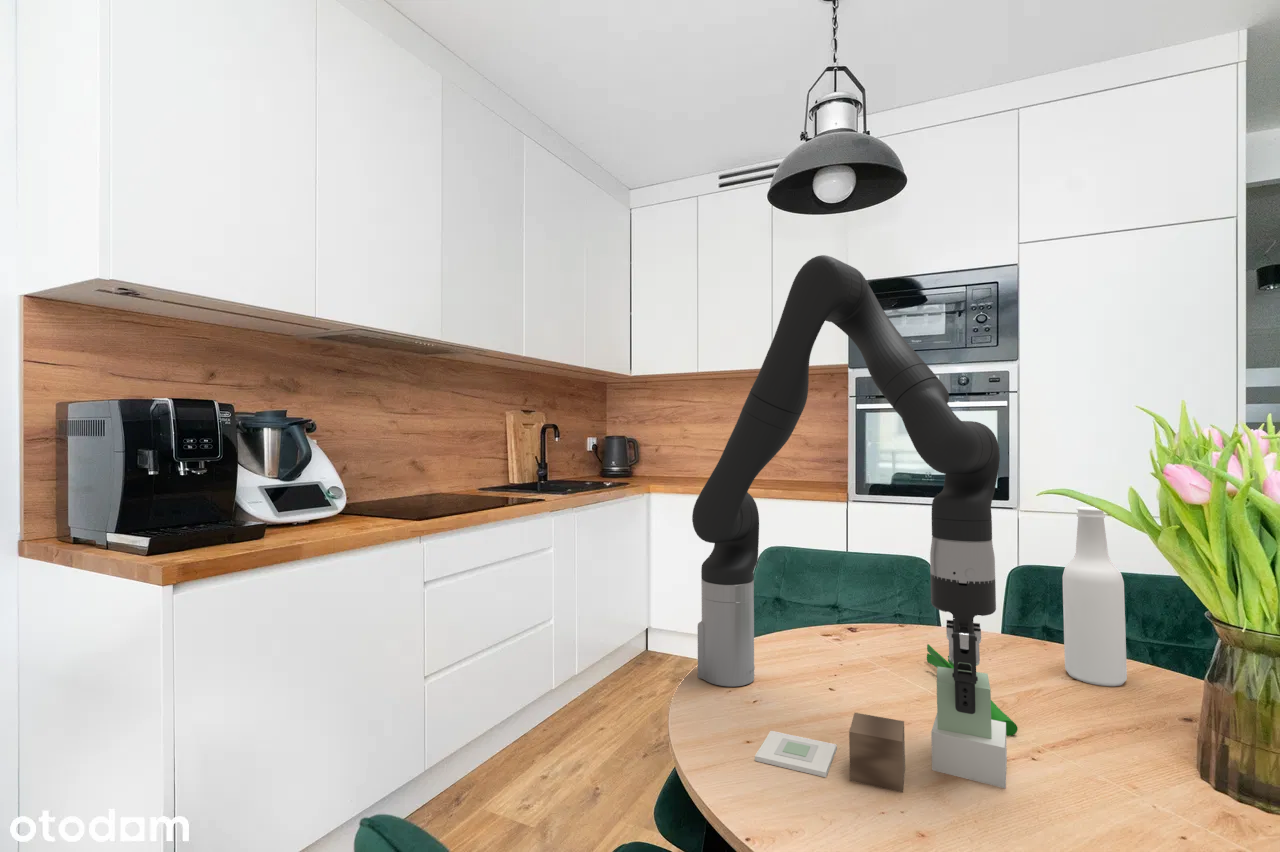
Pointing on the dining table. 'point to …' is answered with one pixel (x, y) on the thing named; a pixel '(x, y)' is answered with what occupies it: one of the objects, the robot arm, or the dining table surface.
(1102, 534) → the alcohol
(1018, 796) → the dining table surface
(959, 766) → the grey base block
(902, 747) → the walnut block
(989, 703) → the sage block
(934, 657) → the green onion
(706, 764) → the dining table surface
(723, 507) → the robot arm
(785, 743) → the card
